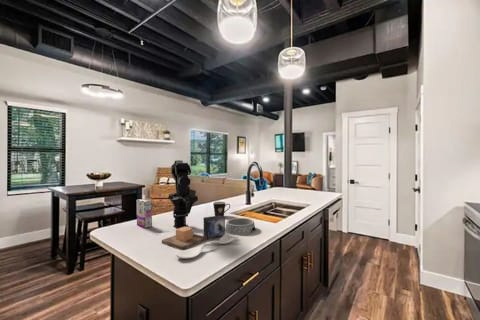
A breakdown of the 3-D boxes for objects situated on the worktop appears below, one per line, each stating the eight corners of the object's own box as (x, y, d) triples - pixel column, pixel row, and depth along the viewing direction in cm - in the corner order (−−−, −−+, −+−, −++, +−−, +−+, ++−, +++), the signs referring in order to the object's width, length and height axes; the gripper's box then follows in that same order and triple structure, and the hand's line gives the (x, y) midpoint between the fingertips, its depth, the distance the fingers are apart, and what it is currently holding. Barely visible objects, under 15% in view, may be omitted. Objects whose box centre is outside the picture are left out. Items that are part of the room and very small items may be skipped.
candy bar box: (152, 226, 147) (152, 200, 147) (145, 228, 144) (144, 201, 143) (144, 223, 155) (143, 198, 154) (136, 225, 151) (135, 199, 150)
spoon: (238, 243, 119) (238, 236, 119) (183, 264, 96) (183, 256, 96) (226, 238, 126) (226, 232, 125) (172, 258, 103) (171, 250, 103)
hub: (183, 241, 117) (183, 231, 117) (175, 239, 121) (175, 229, 121) (192, 238, 122) (192, 228, 122) (184, 235, 126) (184, 226, 125)
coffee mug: (212, 217, 166) (211, 203, 166) (215, 214, 175) (215, 201, 174) (228, 218, 164) (227, 204, 164) (230, 215, 173) (230, 201, 172)
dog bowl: (219, 232, 135) (219, 223, 135) (235, 224, 151) (235, 215, 151) (246, 237, 127) (246, 227, 127) (259, 227, 143) (259, 219, 143)
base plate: (185, 234, 133) (185, 226, 132) (206, 239, 123) (206, 231, 123) (161, 243, 120) (161, 234, 119) (182, 250, 110) (182, 240, 110)
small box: (207, 240, 123) (206, 220, 123) (203, 236, 129) (202, 217, 128) (225, 236, 128) (225, 217, 127) (221, 233, 133) (220, 214, 133)
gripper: (204, 184, 134) (205, 211, 135) (182, 182, 145) (183, 207, 145) (189, 186, 125) (190, 216, 125) (167, 184, 136) (168, 211, 136)
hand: (183, 212), depth 133 cm, fingers open, 9 cm apart
